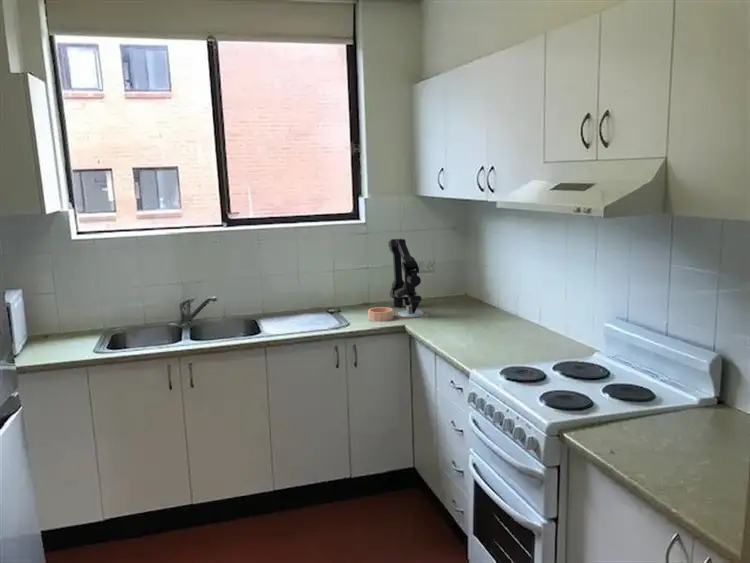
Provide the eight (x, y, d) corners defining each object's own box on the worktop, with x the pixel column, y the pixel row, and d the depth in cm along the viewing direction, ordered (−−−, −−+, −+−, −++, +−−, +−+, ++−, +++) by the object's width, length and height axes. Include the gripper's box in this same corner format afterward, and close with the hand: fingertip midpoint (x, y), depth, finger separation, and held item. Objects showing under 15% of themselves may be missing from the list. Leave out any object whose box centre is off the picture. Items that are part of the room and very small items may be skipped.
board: (392, 314, 346) (392, 313, 346) (419, 311, 351) (419, 310, 351) (401, 320, 331) (401, 319, 331) (429, 317, 336) (429, 316, 335)
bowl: (365, 317, 340) (365, 308, 339) (388, 315, 344) (388, 306, 343) (372, 322, 328) (372, 313, 327) (396, 320, 332) (396, 311, 331)
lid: (394, 313, 345) (393, 304, 344) (418, 310, 349) (417, 302, 348) (402, 319, 332) (402, 309, 331) (427, 316, 336) (427, 307, 335)
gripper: (390, 281, 344) (390, 309, 347) (401, 287, 326) (402, 316, 329) (409, 279, 347) (409, 307, 350) (421, 285, 330) (422, 314, 333)
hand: (410, 311), depth 340 cm, fingers open, 9 cm apart
